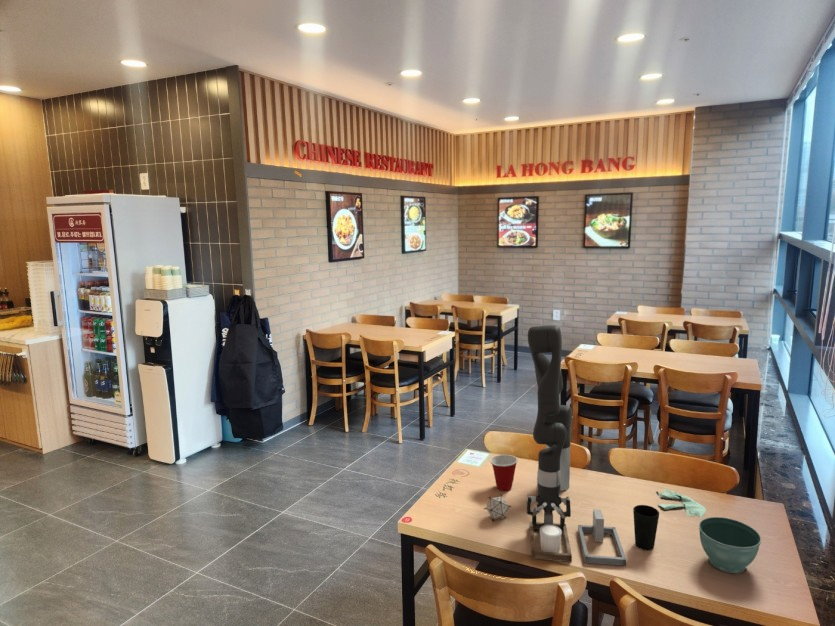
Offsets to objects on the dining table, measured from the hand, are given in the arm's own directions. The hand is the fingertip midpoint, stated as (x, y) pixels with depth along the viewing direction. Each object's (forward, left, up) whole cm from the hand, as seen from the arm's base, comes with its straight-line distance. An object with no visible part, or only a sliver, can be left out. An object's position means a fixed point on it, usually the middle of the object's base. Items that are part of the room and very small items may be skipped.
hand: (548, 526), depth 182 cm
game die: (-8, -17, -3) cm, 19 cm away
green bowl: (+10, +52, -3) cm, 53 cm away
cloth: (-27, +47, -4) cm, 54 cm away
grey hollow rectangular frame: (+6, +16, -3) cm, 17 cm away
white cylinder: (+9, 0, -3) cm, 10 cm away
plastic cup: (-31, -15, -3) cm, 35 cm away
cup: (+3, +30, -3) cm, 30 cm away
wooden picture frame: (+6, 0, -3) cm, 6 cm away
